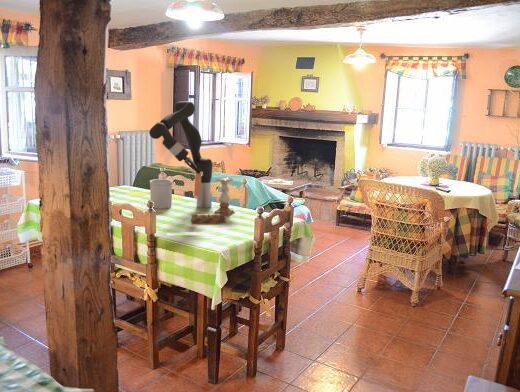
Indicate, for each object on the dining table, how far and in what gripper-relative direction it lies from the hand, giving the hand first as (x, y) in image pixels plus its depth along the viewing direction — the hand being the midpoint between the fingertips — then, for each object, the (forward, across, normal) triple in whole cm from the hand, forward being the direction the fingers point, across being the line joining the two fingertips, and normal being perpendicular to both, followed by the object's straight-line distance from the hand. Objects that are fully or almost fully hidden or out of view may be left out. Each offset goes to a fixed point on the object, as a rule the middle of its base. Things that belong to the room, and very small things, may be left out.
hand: (199, 172), depth 275 cm
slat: (+9, 0, +11) cm, 14 cm away
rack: (+25, -6, +18) cm, 31 cm away
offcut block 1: (+21, -7, +19) cm, 29 cm away
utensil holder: (+5, +41, +37) cm, 56 cm away
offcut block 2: (+26, -7, +14) cm, 30 cm away
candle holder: (+33, +13, +9) cm, 37 cm away
